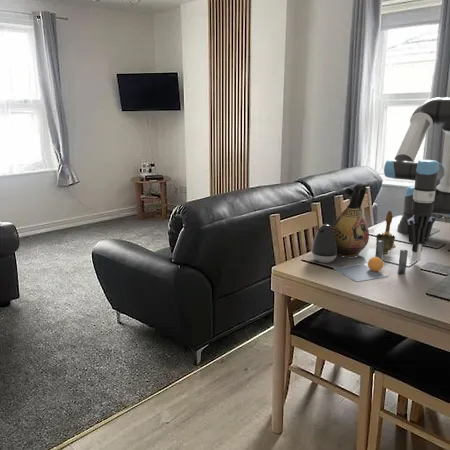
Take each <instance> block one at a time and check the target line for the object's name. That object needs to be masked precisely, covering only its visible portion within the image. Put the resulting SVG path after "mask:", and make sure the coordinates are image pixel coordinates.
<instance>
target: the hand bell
mask: <svg viewBox="0 0 450 450" xmlns="http://www.w3.org/2000/svg"><path fill="white" fill-rule="evenodd" d="M392 221H393V213H392V210H388V211H387V214H386V217H385V224H386V225H385V229H384V230H385V231H384V232H382V233H383V235H385V234H389V236H390V235H392V236H393V234H392V233H391V232H390V231H391V230H390V229H391V223H392ZM375 246H377V243H376V244H375ZM394 248H396V245H395V243H394V244H393V247H392V249H394Z"/></svg>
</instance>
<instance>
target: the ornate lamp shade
mask: <svg viewBox="0 0 450 450" xmlns="http://www.w3.org/2000/svg"><path fill="white" fill-rule="evenodd" d="M383 233H384V232H382V233H381V234H380V233H378V234H376V243H377V240H382V241H384V246H383V255H385V256H386V255H388V254H389V252H390V251H391V250H392V249H393V248H392V247H393V244H395V238H396V236H395V235H394V234H392V235H390V236H389V234H385V235H383ZM383 255H382V256H383Z"/></svg>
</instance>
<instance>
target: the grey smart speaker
mask: <svg viewBox="0 0 450 450" xmlns="http://www.w3.org/2000/svg"><path fill="white" fill-rule="evenodd" d="M332 227H333V225H330V224H328V223H324V224H322V225H321V226H320V227H319V228H318V229H317V231H316V234H315V236H314V238H313V242H312V245H311V253H312V257H313V258H314V260H315V261H317V262H319V263H321V262H322V264H329V263H331V262H333V261H335V259H336V257H337V256H338V255H337V254H338V245H337V239H336V234H335V232H334V229H333V228H332Z"/></svg>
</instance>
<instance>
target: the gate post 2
mask: <svg viewBox="0 0 450 450" xmlns="http://www.w3.org/2000/svg"><path fill="white" fill-rule="evenodd" d="M408 253H409V251H408V250H407V249H400V250H399V260H398V266H397V268H398V269H397V274H398V275H400V276H405V274H406V270H407V269H406V268H407V261H408Z"/></svg>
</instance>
